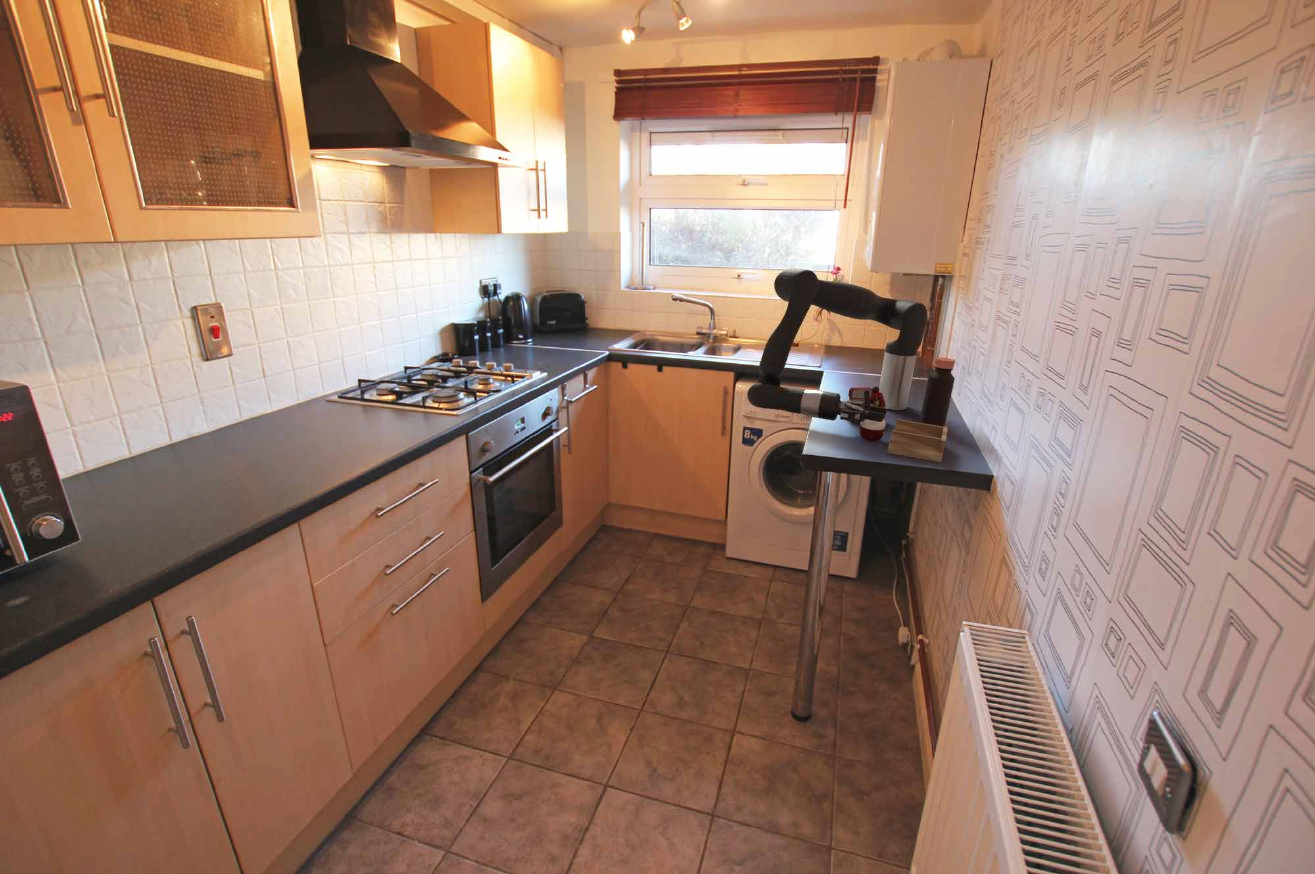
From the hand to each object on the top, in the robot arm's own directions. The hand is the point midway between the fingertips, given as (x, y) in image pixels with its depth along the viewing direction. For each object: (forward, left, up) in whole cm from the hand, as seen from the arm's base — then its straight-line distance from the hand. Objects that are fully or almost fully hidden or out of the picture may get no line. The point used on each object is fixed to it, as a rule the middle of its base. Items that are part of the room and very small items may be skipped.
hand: (884, 415), depth 160 cm
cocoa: (0, -3, -7) cm, 8 cm away
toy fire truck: (-16, -7, -7) cm, 19 cm away
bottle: (-21, +11, -7) cm, 25 cm away
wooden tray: (+2, +9, -7) cm, 12 cm away
